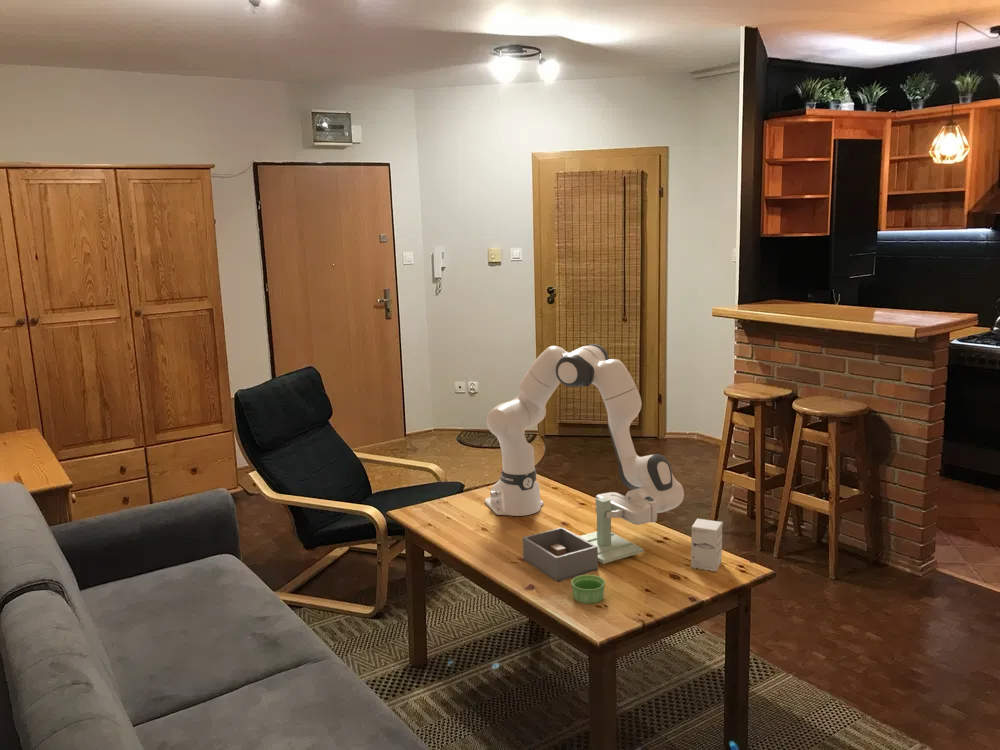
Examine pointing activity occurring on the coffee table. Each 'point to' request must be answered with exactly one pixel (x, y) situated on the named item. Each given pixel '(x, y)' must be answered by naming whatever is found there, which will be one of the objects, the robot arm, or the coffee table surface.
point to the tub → (560, 554)
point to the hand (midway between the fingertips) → (601, 513)
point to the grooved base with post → (609, 537)
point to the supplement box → (706, 544)
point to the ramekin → (588, 588)
